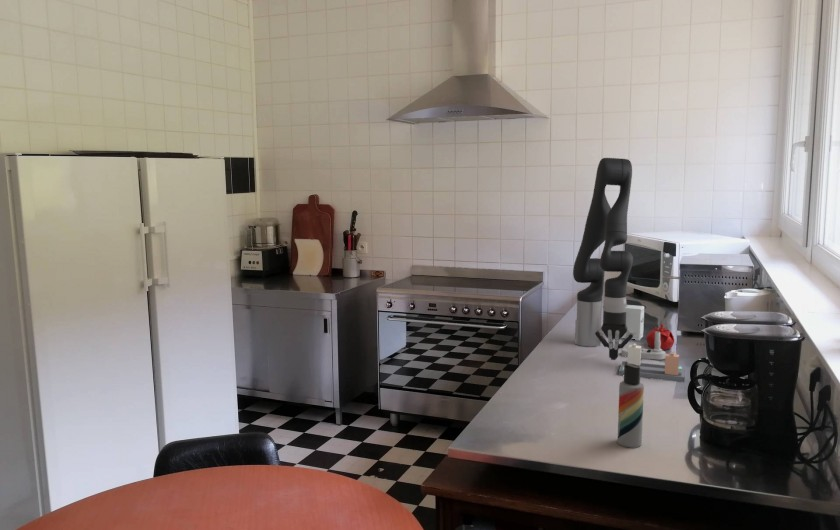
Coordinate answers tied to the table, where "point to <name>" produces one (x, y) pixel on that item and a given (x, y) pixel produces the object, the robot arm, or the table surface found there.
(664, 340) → the pomegranate
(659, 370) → the switch panel
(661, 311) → the table surface
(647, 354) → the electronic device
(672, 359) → the terracotta tab
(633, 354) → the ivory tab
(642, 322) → the supplement box
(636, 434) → the lotion bottle
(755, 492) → the table surface
